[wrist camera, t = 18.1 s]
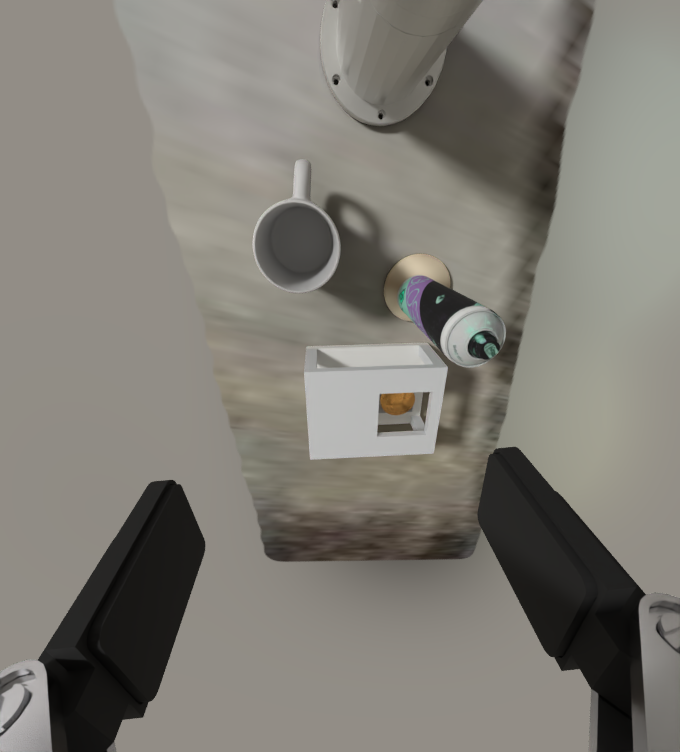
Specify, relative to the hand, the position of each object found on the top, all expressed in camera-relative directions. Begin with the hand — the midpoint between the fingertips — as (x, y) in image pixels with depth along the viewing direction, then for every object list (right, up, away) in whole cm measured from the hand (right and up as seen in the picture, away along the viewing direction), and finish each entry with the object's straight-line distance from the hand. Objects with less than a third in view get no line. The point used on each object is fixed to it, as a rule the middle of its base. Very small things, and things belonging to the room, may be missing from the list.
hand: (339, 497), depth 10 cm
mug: (-5, +22, +29) cm, 37 cm away
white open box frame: (+4, +2, +40) cm, 40 cm away
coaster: (+11, +16, +33) cm, 38 cm away
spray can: (+11, +15, +33) cm, 38 cm away
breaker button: (+8, +2, +39) cm, 40 cm away
